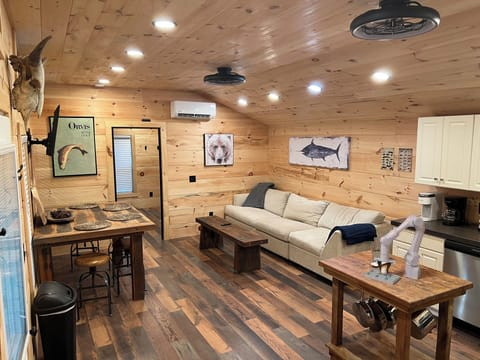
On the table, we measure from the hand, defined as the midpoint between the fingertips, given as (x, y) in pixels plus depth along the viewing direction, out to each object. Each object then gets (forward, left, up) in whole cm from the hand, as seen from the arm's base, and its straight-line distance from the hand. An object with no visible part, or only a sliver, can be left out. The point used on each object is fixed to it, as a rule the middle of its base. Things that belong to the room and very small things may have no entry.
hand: (383, 271), depth 253 cm
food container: (+16, -29, -4) cm, 33 cm away
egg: (0, 0, -1) cm, 1 cm away
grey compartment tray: (0, +3, -3) cm, 5 cm away
